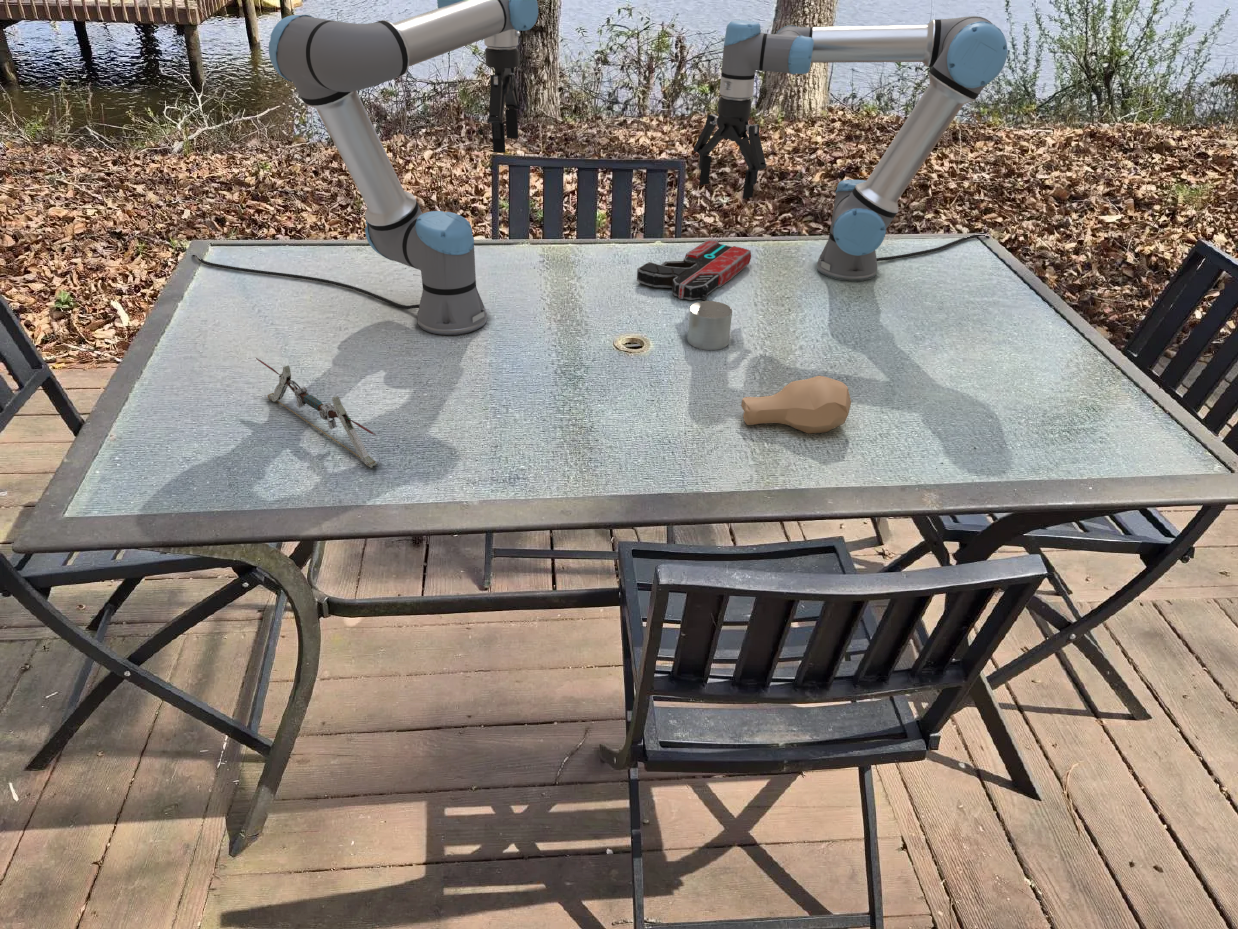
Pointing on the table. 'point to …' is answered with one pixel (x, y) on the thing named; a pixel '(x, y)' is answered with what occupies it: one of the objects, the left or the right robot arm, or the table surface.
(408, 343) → the table surface
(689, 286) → the gun
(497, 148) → the left robot arm
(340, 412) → the bow
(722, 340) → the canister
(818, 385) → the squash
